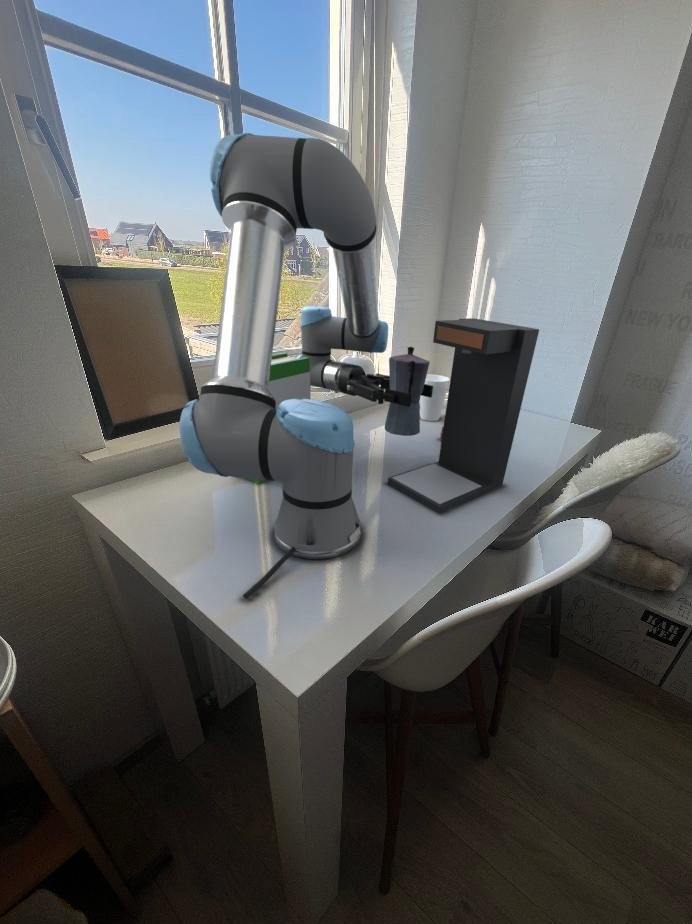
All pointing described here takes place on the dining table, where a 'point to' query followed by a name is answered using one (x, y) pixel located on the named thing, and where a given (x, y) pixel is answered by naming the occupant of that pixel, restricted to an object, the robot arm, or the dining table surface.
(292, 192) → the robot arm
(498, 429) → the coffee maker
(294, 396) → the hardback book
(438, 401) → the foam cup
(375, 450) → the dining table surface
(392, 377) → the moka pot
